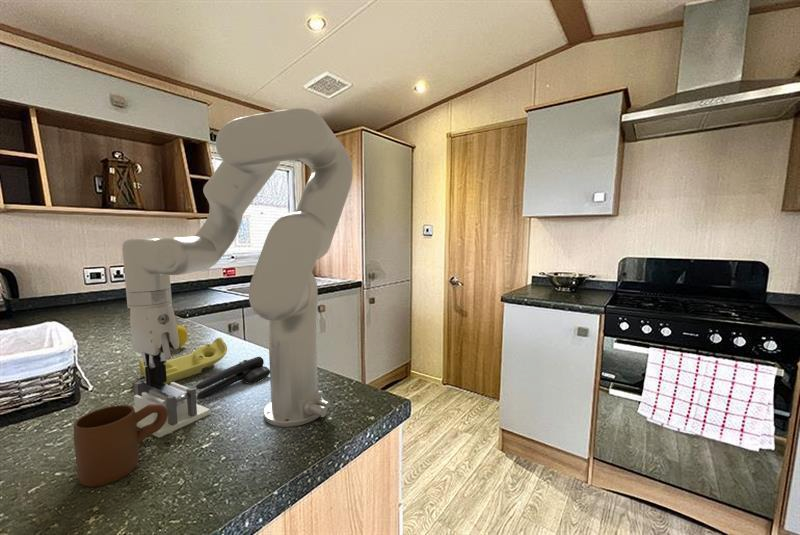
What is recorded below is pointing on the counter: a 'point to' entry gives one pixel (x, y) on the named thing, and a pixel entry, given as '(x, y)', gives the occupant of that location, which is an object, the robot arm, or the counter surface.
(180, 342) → the lemon
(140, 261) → the robot arm
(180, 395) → the grey long flat bar
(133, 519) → the counter surface
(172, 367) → the plastic component
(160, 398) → the heatsink board
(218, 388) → the can opener
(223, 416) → the counter surface
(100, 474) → the mug
